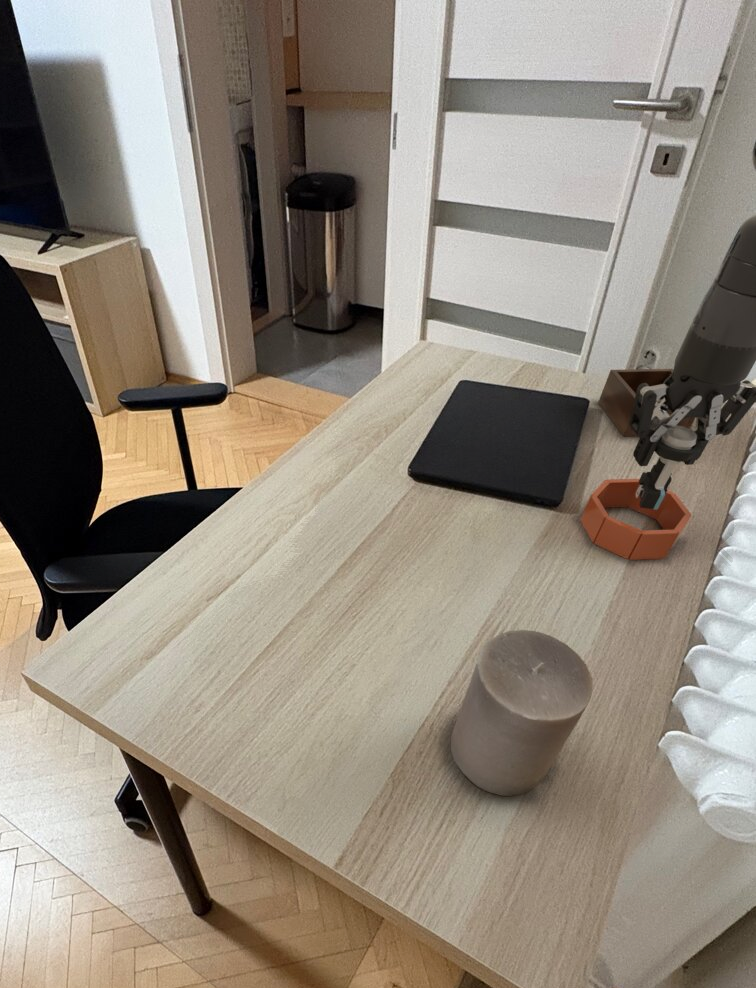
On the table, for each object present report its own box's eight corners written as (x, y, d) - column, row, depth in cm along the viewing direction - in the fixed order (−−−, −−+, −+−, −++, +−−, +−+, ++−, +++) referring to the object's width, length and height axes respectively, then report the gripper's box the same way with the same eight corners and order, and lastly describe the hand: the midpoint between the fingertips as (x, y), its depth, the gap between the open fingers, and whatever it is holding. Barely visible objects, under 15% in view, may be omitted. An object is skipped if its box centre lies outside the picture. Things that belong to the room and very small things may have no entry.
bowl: (650, 502, 91) (663, 477, 88) (689, 557, 83) (705, 532, 80) (571, 505, 91) (581, 479, 87) (602, 560, 82) (615, 535, 79)
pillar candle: (543, 721, 65) (593, 628, 54) (549, 807, 59) (607, 721, 48) (450, 704, 66) (481, 610, 56) (446, 787, 60) (479, 699, 49)
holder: (657, 401, 112) (672, 368, 107) (686, 434, 104) (704, 400, 100) (597, 403, 111) (610, 369, 107) (623, 436, 104) (638, 402, 99)
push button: (622, 478, 85) (653, 413, 78) (663, 484, 84) (698, 419, 77) (628, 508, 81) (661, 442, 74) (671, 514, 80) (709, 448, 73)
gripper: (681, 346, 63) (620, 481, 76) (815, 342, 64) (733, 477, 76) (649, 316, 69) (596, 447, 81) (774, 313, 69) (702, 443, 82)
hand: (663, 461), depth 79 cm, fingers closed on push button, 5 cm apart
